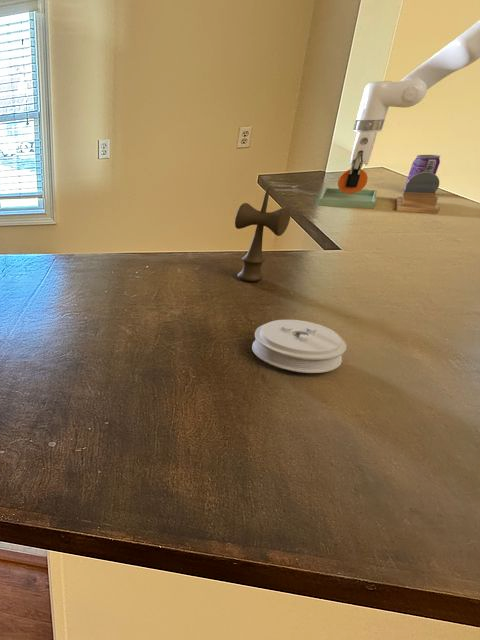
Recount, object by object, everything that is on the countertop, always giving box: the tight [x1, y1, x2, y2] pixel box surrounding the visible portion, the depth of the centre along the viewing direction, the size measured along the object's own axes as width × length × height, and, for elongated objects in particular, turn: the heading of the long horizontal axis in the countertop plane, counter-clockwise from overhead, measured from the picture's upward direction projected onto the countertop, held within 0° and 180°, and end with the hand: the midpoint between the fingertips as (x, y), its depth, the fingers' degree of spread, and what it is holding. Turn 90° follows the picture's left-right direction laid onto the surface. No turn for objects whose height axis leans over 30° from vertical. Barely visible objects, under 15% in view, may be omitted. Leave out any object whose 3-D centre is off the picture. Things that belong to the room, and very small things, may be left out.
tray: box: [317, 187, 378, 209], centre depth 162 cm, size 19×15×2 cm
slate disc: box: [405, 172, 440, 193], centre depth 151 cm, size 1×8×8 cm, turn 55°
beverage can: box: [403, 154, 441, 192], centre depth 163 cm, size 7×7×12 cm
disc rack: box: [395, 191, 440, 214], centre depth 150 cm, size 16×10×4 cm, turn 145°
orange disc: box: [337, 168, 368, 194], centre depth 160 cm, size 1×8×8 cm, turn 55°
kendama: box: [234, 187, 292, 282], centre depth 103 cm, size 6×10×20 cm, turn 43°
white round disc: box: [251, 319, 347, 374], centre depth 77 cm, size 13×13×5 cm
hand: (351, 186), depth 161 cm, fingers closed on orange disc, 1 cm apart
